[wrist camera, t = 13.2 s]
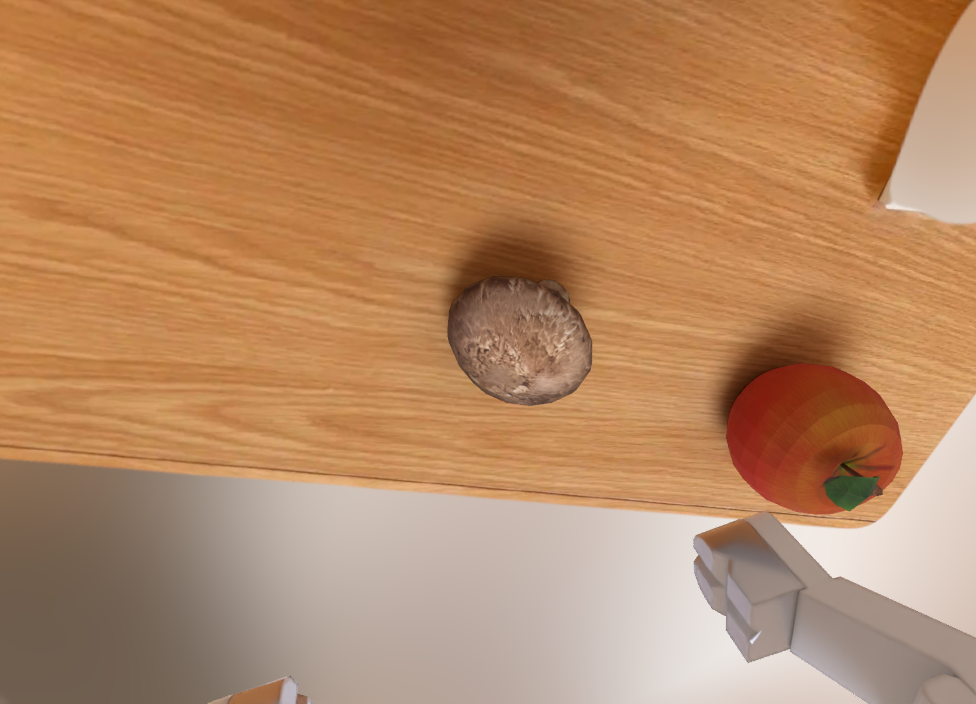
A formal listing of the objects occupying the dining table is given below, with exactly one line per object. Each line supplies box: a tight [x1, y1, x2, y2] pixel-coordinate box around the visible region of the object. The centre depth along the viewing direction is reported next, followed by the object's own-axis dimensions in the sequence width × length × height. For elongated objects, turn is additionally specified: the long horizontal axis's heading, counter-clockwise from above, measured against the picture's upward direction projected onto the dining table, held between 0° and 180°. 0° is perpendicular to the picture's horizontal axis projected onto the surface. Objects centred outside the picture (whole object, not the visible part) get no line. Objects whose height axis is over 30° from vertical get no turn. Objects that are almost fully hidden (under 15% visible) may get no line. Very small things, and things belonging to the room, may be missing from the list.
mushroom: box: [448, 276, 592, 406], centre depth 28 cm, size 8×8×6 cm
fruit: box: [726, 363, 903, 514], centre depth 33 cm, size 10×10×10 cm
